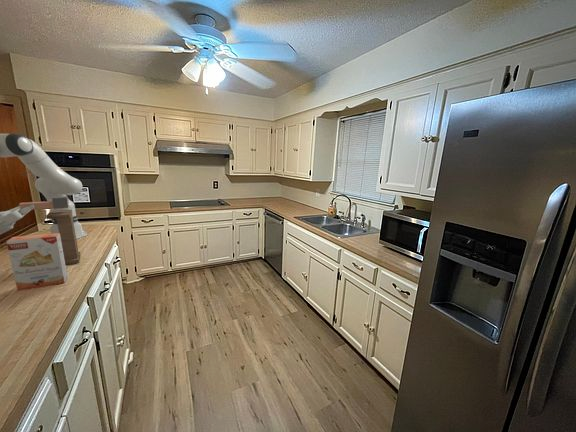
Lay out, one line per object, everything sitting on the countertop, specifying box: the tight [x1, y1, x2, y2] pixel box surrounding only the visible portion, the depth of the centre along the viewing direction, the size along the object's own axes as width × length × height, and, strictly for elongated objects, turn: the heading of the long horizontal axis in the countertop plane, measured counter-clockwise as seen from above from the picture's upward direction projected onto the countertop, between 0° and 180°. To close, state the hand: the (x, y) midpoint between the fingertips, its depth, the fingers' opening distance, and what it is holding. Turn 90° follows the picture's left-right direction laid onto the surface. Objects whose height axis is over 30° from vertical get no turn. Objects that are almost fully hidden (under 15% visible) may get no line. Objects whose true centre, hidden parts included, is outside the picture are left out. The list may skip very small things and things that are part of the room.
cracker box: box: [5, 233, 69, 292], centre depth 97 cm, size 14×6×21 cm, turn 121°
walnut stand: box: [45, 210, 82, 266], centre depth 120 cm, size 12×8×25 cm
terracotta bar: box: [18, 195, 69, 211], centre depth 113 cm, size 5×16×5 cm, turn 127°
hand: (35, 204), depth 111 cm, fingers closed on terracotta bar, 3 cm apart
